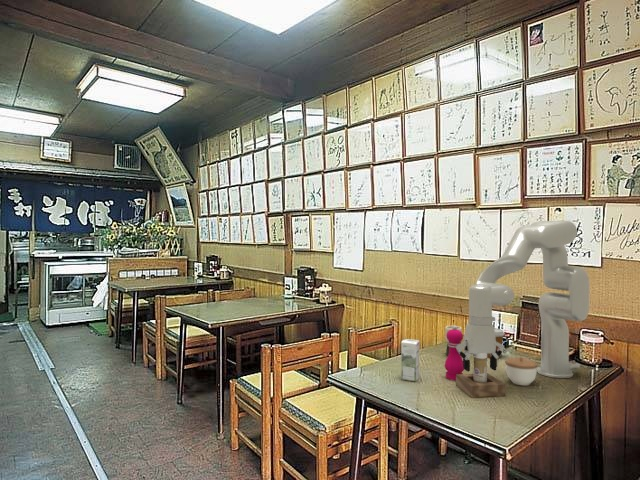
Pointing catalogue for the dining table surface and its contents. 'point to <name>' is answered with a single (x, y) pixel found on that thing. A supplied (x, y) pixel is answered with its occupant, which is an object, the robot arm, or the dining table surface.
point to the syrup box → (410, 360)
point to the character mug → (446, 337)
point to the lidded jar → (521, 370)
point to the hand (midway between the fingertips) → (479, 369)
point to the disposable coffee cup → (497, 338)
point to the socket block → (480, 386)
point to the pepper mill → (454, 354)
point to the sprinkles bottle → (480, 367)
